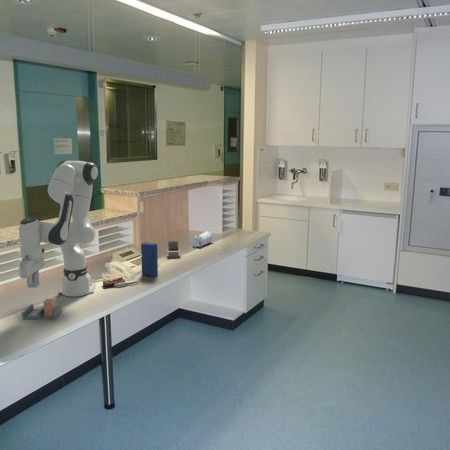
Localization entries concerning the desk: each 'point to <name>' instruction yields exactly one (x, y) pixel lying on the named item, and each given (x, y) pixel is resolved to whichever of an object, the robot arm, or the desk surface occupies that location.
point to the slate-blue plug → (34, 280)
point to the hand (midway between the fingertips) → (33, 281)
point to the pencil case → (202, 239)
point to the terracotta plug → (49, 306)
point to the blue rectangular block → (149, 259)
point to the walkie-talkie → (116, 282)
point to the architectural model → (173, 249)
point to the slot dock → (40, 313)
